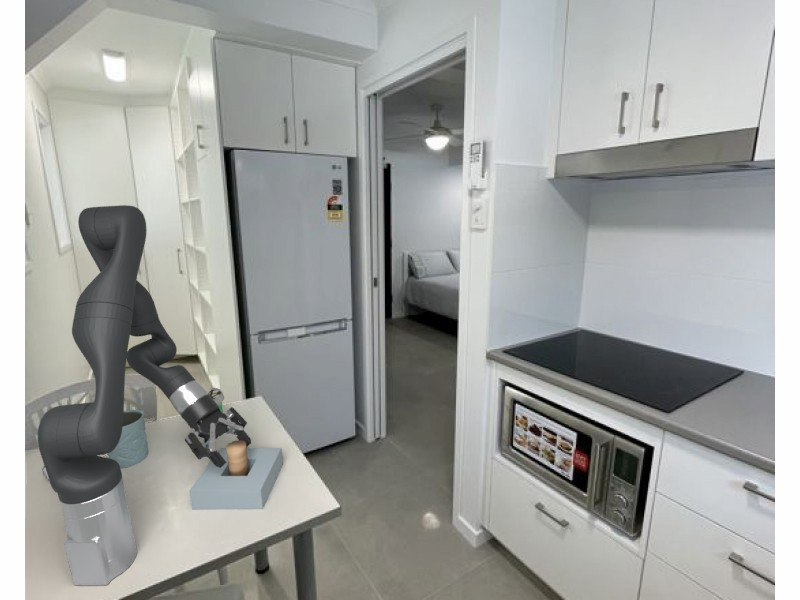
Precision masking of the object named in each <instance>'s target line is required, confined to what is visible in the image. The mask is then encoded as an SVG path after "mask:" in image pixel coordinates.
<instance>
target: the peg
mask: <svg viewBox="0 0 800 600" xmlns="http://www.w3.org/2000/svg"><path fill="white" fill-rule="evenodd" d="M225 448H226V450H227V458H228V466H229V474H230V476H248V474H249V466H248V457H247V448H248V447H246V442H245V441H242V440H238V439H237V440H234V441H233V440H232V441H231V442H229V443H228V444H227V445H226V447H225Z"/></svg>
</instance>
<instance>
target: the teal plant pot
mask: <svg viewBox="0 0 800 600" xmlns="http://www.w3.org/2000/svg"><path fill="white" fill-rule="evenodd" d="M145 421H146V420H145V414H144V412H143V411H142V410H139V409H130V410H129V409H127V410H124V415H123V427H122V433H121V437H120V440H119V443H118V445H117V446H116V448H115V449H114V450H113V451H112V452H110V453H108V454H107V458H110V459H113V460H115V461H116V462H118V464H119V465H120V468H121V469H124V468H129V467H132V466H134V465H137V464H139V463H142V462H143V461H144V460H145V459H147V457H148V455H149V447H148V446H149V445H148V442H147V441H148V440H147V433H146V424H145V423H146V422H145Z"/></svg>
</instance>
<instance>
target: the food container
mask: <svg viewBox="0 0 800 600" xmlns="http://www.w3.org/2000/svg"><path fill="white" fill-rule="evenodd" d="M207 393H208V394H209V395H210V396H211V398H212V399H213V400H214V401H215V402H216V403H217V405H218V406H219V409H220V411H221V412H222V413H224V412H223V410H224V409H223V402H224V400H225V396H224V393H223V391H222V390H221V388H217V387H213V386H212V387H210V391H209V392H207Z"/></svg>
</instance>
